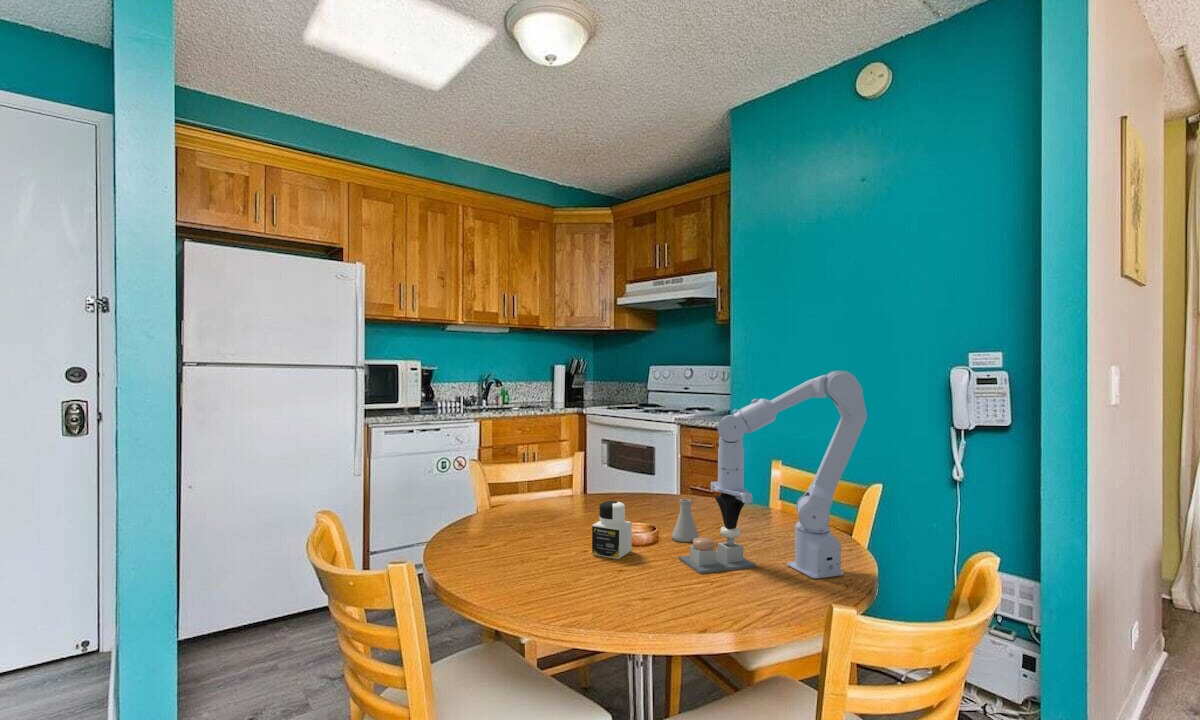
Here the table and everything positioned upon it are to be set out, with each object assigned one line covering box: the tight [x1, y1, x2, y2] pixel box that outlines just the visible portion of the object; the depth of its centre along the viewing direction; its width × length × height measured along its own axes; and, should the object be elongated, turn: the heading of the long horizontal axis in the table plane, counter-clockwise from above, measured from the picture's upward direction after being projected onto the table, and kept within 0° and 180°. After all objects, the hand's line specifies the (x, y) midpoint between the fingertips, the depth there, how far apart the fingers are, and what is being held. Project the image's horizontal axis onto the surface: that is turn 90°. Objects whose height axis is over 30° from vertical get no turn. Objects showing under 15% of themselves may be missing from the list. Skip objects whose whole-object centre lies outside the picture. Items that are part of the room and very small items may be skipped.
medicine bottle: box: [591, 500, 633, 560], centre depth 140 cm, size 7×7×12 cm
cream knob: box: [720, 525, 741, 547], centre depth 135 cm, size 4×4×4 cm
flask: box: [670, 498, 700, 543], centre depth 152 cm, size 7×7×10 cm
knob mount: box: [678, 541, 757, 575], centre depth 134 cm, size 10×14×4 cm
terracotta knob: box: [692, 537, 714, 550], centre depth 133 cm, size 4×4×4 cm
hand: (730, 527), depth 135 cm, fingers closed
